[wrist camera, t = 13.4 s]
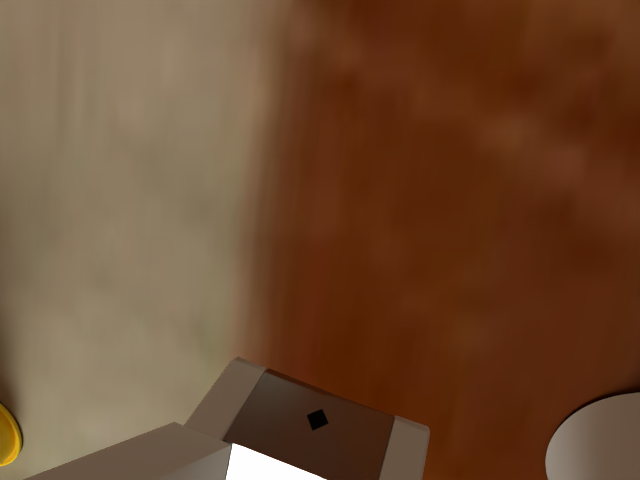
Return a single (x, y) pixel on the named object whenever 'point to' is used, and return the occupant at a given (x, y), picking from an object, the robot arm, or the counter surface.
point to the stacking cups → (8, 437)
